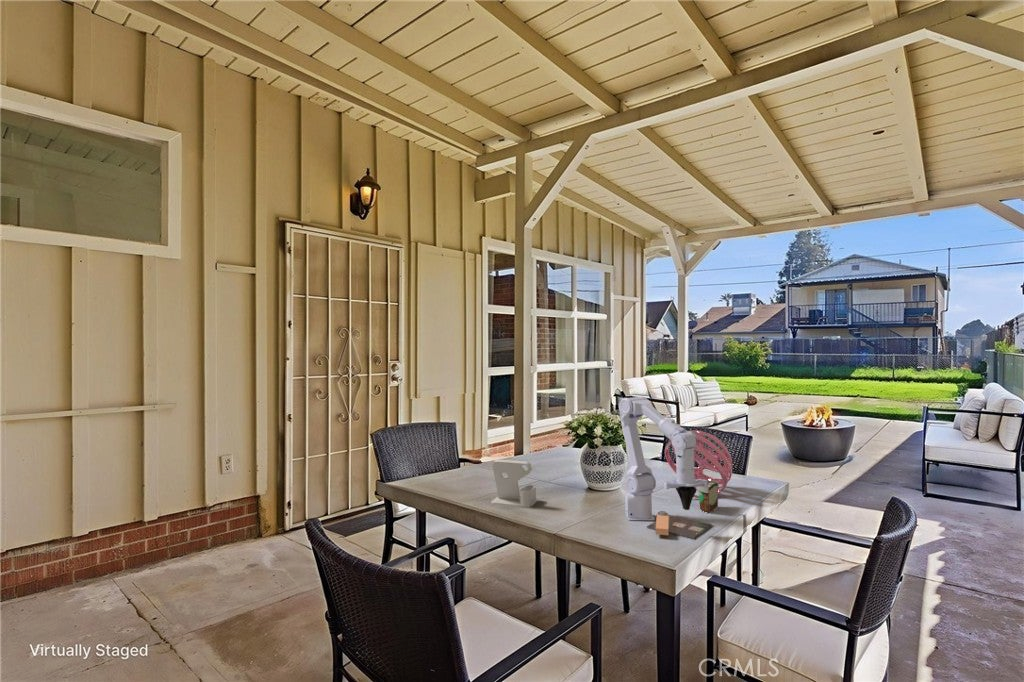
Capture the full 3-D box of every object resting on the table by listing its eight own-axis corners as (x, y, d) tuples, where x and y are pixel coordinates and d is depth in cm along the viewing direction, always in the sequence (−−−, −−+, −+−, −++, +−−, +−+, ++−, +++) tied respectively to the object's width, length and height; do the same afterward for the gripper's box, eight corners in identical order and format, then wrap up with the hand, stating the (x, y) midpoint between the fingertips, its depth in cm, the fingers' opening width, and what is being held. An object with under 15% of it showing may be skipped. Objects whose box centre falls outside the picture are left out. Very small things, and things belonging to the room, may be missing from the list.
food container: (703, 503, 203) (702, 478, 204) (719, 506, 200) (718, 480, 200) (691, 511, 194) (691, 485, 194) (708, 514, 190) (707, 487, 190)
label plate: (693, 539, 166) (693, 537, 166) (646, 527, 177) (646, 525, 177) (712, 526, 178) (712, 523, 178) (667, 516, 189) (667, 513, 189)
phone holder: (538, 500, 211) (537, 457, 211) (530, 508, 202) (529, 462, 202) (499, 497, 217) (498, 454, 218) (490, 504, 208) (489, 459, 208)
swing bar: (657, 518, 184) (657, 509, 184) (668, 519, 183) (668, 510, 183) (655, 534, 168) (655, 525, 168) (668, 536, 167) (668, 526, 167)
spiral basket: (679, 458, 197) (716, 413, 209) (637, 461, 222) (673, 421, 234) (723, 514, 198) (758, 467, 209) (677, 511, 223) (710, 469, 235)
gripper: (670, 472, 166) (671, 514, 166) (711, 470, 168) (712, 511, 168) (660, 467, 173) (661, 507, 173) (700, 465, 175) (701, 504, 175)
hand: (686, 509), depth 171 cm, fingers closed
